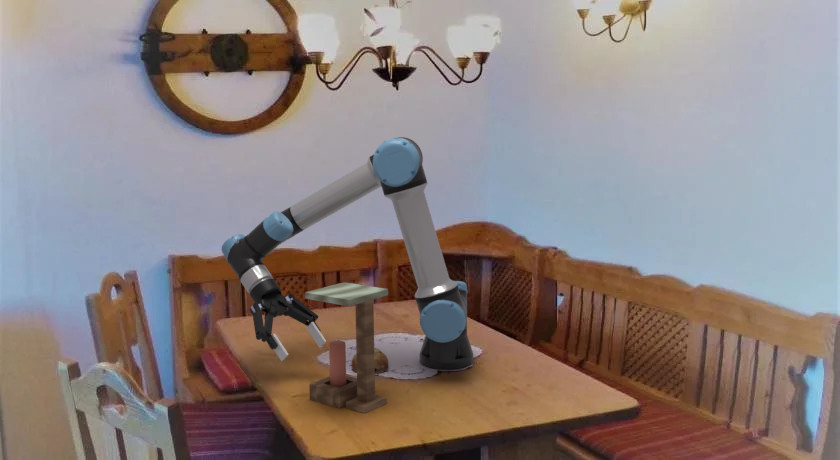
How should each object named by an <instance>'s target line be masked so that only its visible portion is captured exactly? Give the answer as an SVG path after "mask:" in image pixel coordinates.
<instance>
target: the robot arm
mask: <svg viewBox="0 0 840 460" xmlns="http://www.w3.org/2000/svg"><path fill="white" fill-rule="evenodd" d="M423 161H424V156H423V152H422V150H421V147H419V145H418V143H417V142H415V141H414V140H412V139H411V138H409V137H402V136H399V137H393V138H389V139H387V140H384V141H383V142H382V143H380V144H379V145H378V146H377V148H376V149H375V151H374V153H373V154H372V155H370V156H368V159H367V162H366V163H364V164H362V165H360V166H358V167H357V168H356V169H354V170H352V171H350V172H348V173H346V174H345V175H343V176H341V177H340V178H338V179H336V180H334V181H333V182H331V183H329V184H327V185H326V186H324V187H322V188H320V189H319V190H317V191H314V193H312V194H310V195H308V196H307V197H305V198H304V199H303V198H302V199H301V200H300V201H298V202H296V203H294V204H293V205H291V206H290V207H288V208H285V209H284V210H282V211H281V212H279V211H276V210H275V211H273V212H272V213H270V214H269V215H267V216H265V218H264V219H263V221H261V222H260V223H259V224H258V225H256V226H255V228H254V229H253V230H251V231H250V232H249V233H248V234H247V235H246V236H245V235H244V234H241V233H237V234H234V235H232V236H231V237H229V238H227V239H226V240H225V241H224V242H223V244H222V245H221V252H222V255H223V257H224V258H225V260H226V262H227V263H228V265H229V266H230V268H231V269H232V271H233V272H234V273H235V275H236V276H237V278H238V279H239V281H240V282H241V284H242V287H244V288H245V290H246V292H247V293H248V294H249V297H250V298H251V300H252V301H253V304H252V305H251V307H250V308H249V311H250V313H251V315H252V320H253V327H254V333H255V338H256V340H258V341H260V340H261V342H263V343H267V344H268V346H269V349H271V350H274V351H273V352H274V353H275V354H276V356H277V357H278V358H279V360H280V361H281V362H283V361H285V359H286V358H287V357H288V356H289V353H288V351H287V349H286V348H285V347H284V345H283V343H282V342H281V341H280V339H279V338H278V335H277V334H276V333H273V334H272V331H273V326H274V325H273V323H274V318H276V317H277V318H278V317H280V316H284V317H290V319H294V320H295V321H298V323H300V324H303V325H305V326H307V327H306V330H307V332H308V334H309V335H310V336H311V338H312V339H313V340H314V342H315V344H317V346H318V348H319V349H321V348H323V346H324V345H325V344H326V343H327V340H326V338H325V337H324V335H323V334H322V331H321V328H320V327H319V326H318V324H317V323H316V321H317V320H318V318H319V315H318V314H317V313H315V312H314V311H313V310H311V309H310V308H309V307H308V306H306V305H305V304H303V303H302V302H301V301H300V300H298V299H297V298H296V296H295V295H294V294H293V293H289V294H288V295H287V296H284V295H283V294H282V291H281V287H280V286H279V285H278V284H279V283H277V282H276V280H275V279H274V277H273V275H272V273H270V272H271V271H269V270H268V268H267V266H266V265H265V264H264V262H263V259H264V258H266V257H267V256H268V255H269V254H270V253H272V252H273V251H274V250H275V249H276V248H278V246H280V245H281V244H283V243H285V242H286V241H287V240H290V239H292V238H293V237H295V236H297V235H298V234H300V233H301V232H303V231H305V230H307V229H308V228H310V227H312V226H313V225H316V224H317V223H319V222H321V221H322V220H324V219H326V218H328V217H329V216H332V215H333V214H335V213H337V212H338V211H340V210H342V209H344V208H345V207H348V206H349V205H351V204H352V203H354V202H357V201H358V200H360V199H362V198H364V197H365V196H367V195H369V194H370V193H372V192H374V191H375V190H377V189H379V188H382V192H383V195H384V197H385V198H387V199H388V200H390V201H391V202H392V205H393V209H394V213H395V216H396V219H397V222H398V225H399V228H400V229H399V230H400V232H401V235H402V238H403V243H404V246H405V249H406V253H407V255H408V258H409V259H408V260H409V262H410V266H411V269H412V272H413V276H414V279H415V282H416V286H417V290H416V292H415V294H414V299H415V303H416V306H417V308H418V312H419V325H420V328H421V331H422V333H424V335H425V336H424V339H423V342H422V345H421V349H420V351H419V363H420V364H421V365H423V366H425V367H428V368H431V369H441V370H453V369H461V368H465V367H468V366H471V365H472V364H473V363H474V352H473V348H472V345H471V343H470V340H469V337H468V293H469V292H468V291H469V290H468V287H467V283H466V282H464V281H461V280H453V279H451V278H450V276H449V272H448V269H447V265H446V262H445V259H444V254H443V251H442V249H441V246H440V242H439V239H438V236H437V235H438V234H437V232H436V228H435V225H434V221H433V219H432V214H431V211H430V208H429V206H428V205H429V204H428V201H427V197H426V194H425V189H426V187H427V185H428V181H427V176H426V174H425V171H424V167H423ZM262 312H263V313H264V317H263V313H262ZM263 319H264V320H263Z"/></svg>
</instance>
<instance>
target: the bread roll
mask: <svg viewBox="0 0 840 460" xmlns="http://www.w3.org/2000/svg"><path fill="white" fill-rule="evenodd" d="M374 362H375V373H377V374H379V373H378V372H382V371H385V370H386V371H387V370H388V369H389V358H388V356H387V355H386V354H385V353H384V352H383V351H382V350H381V349H379V348H377V347H374ZM351 368H352V370H353V371H354V372H356V373H357V354H356V353H355V354H354V355H353V357H352V359H351ZM387 368H388V369H387ZM386 371H385V372H386ZM382 373H383V372H382Z"/></svg>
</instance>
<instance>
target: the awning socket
mask: <svg viewBox="0 0 840 460" xmlns="http://www.w3.org/2000/svg"><path fill="white" fill-rule="evenodd" d="M388 295H389V289H388V288H385V287H384V288H383V287H377V286H371V285H363V284H358V283H352V282H347V281H346V282H345V281H344V282H340V283H336V284H332V285H329V286H324V287H322V288H320V287H319V288H316V289H313V290H309V291H305V292H304V299H306V300H312V301H318V302H323V303H329V304H334V305H338V306H339V305H340V306H345V307H353V306H354V307H355V340H356V341H355V343H356V349H355V350H356V353H355V354H357V372H356V377H353V376H349V375H346V385H344V386H342V387H335V386H331V385H330V375H329V376H327V377H325V378H321V379H319V380H316V381H314V382H311V383H309V385H308V386H309V389H308V390H309V400H310V401H312V402H316V403H320V404H324V405H327V406H329V407H333V408H338V409H342V408H344V407H345V408H346V409H349V410H352V411H355V412H359V413H362V414H366V413H369V412H371V411H373V410H375V409H377V408H380V407H383V406H384V405H386V404H388V401H387V397H386V396H383V395H379V394H376V383H375V382H376V374H375V362H374V348H375V320H374V319H375V314H374V312H375V311H374V300H375V299H380V298H382V297H383V298H384V297H386V296H388Z"/></svg>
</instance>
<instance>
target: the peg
mask: <svg viewBox="0 0 840 460" xmlns="http://www.w3.org/2000/svg"><path fill="white" fill-rule="evenodd" d="M328 348H329V349H328V353H329V356H328V357H329V359H328V360H329V376H330V385H331V386H335V387H342V386H344V385H346V376H347V354H346V353H347V352H346V351H347V350H346V341H345V340H344V341H343V340H332V341H330V342H329V343H328Z"/></svg>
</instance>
